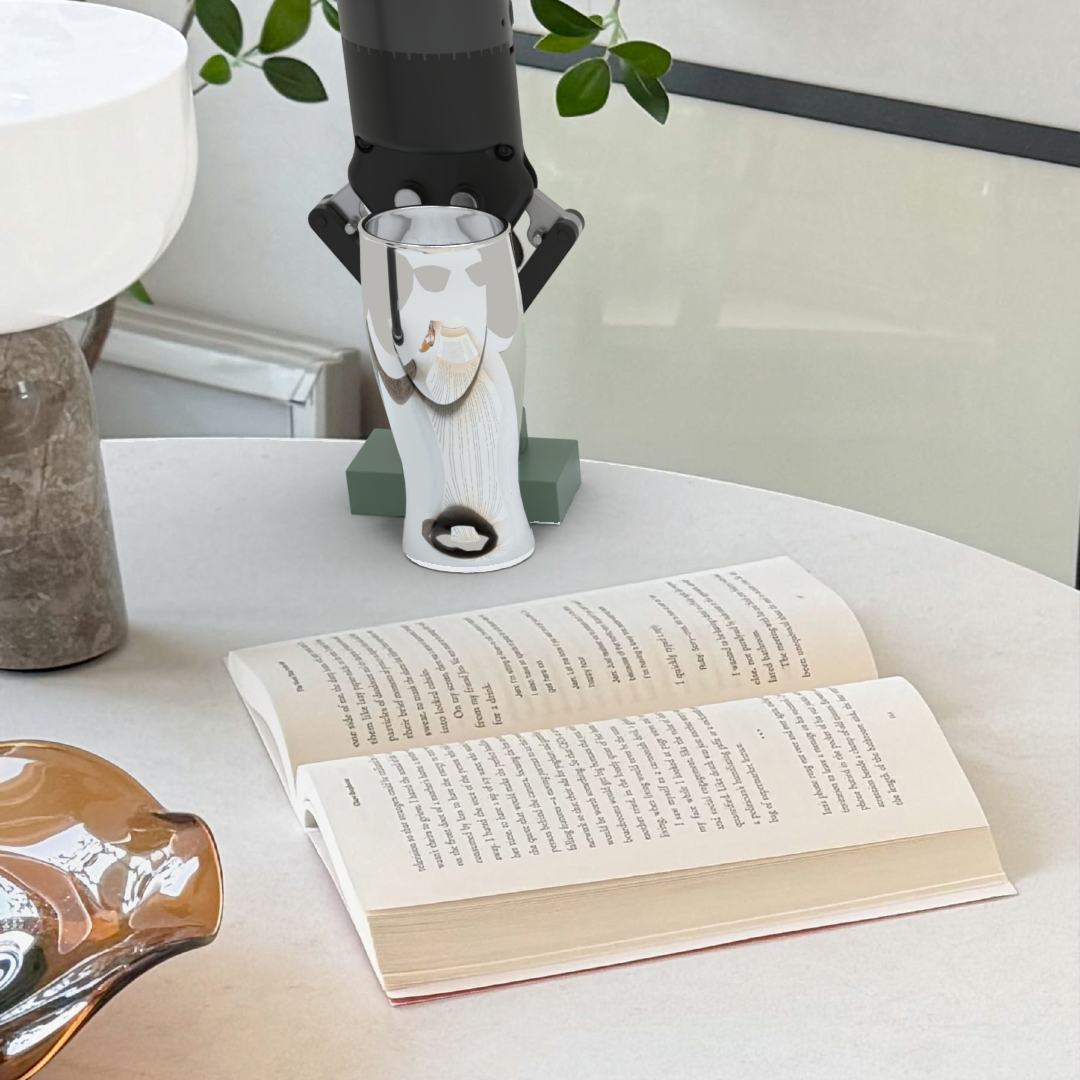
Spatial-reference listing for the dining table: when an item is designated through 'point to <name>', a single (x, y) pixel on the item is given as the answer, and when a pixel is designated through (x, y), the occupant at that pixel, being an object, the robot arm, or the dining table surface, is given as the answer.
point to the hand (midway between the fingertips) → (468, 406)
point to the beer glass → (450, 376)
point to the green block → (542, 470)
